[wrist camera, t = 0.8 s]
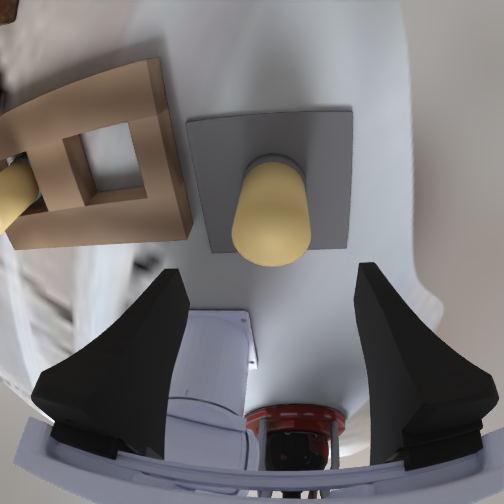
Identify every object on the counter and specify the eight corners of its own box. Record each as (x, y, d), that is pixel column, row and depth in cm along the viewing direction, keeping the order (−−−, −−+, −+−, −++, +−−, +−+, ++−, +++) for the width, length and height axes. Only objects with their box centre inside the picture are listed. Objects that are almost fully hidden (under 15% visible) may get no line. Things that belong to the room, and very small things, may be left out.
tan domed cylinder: (54, 192, 22) (12, 235, 17) (25, 199, 22) (-16, 239, 18) (39, 149, 19) (-11, 185, 15) (10, 159, 20) (-36, 195, 15)
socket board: (193, 224, 23) (186, 240, 21) (25, 237, 25) (14, 250, 23) (158, 57, 15) (146, 59, 14) (-18, 126, 18) (-33, 135, 16)
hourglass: (361, 422, 44) (366, 561, 24) (284, 443, 51) (276, 562, 32) (308, 392, 37) (303, 579, 18) (221, 417, 45) (201, 563, 25)
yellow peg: (305, 208, 21) (312, 267, 16) (246, 210, 21) (235, 269, 17) (304, 151, 18) (313, 197, 14) (238, 155, 19) (223, 202, 14)
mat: (345, 245, 23) (346, 248, 23) (212, 250, 24) (212, 253, 24) (351, 111, 17) (352, 112, 17) (186, 121, 18) (185, 123, 18)
